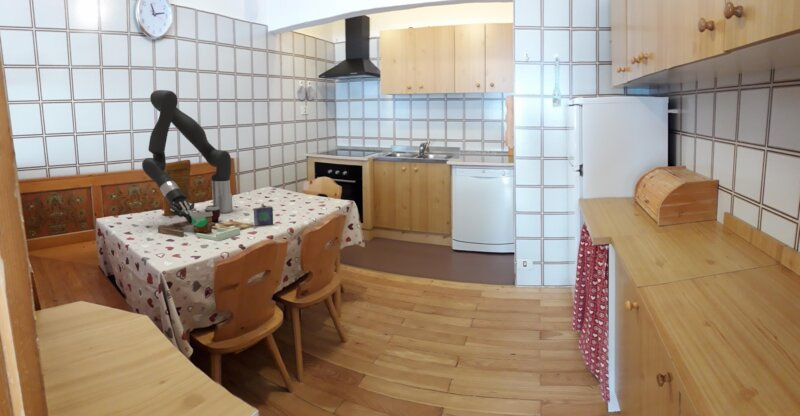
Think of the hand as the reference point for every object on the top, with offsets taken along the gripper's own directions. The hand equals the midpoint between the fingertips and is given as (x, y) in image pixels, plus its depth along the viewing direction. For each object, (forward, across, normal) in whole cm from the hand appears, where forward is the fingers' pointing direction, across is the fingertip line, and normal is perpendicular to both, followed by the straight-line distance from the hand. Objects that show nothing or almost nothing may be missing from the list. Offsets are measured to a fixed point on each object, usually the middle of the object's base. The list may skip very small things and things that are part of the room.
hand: (192, 221), depth 236 cm
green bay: (+14, 0, -8) cm, 16 cm away
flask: (+17, +26, -10) cm, 32 cm away
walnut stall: (0, 0, +6) cm, 6 cm away
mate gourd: (-1, +18, +8) cm, 20 cm away
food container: (+6, 0, 0) cm, 6 cm away
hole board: (+10, +14, -4) cm, 18 cm away
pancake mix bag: (-22, +22, +29) cm, 42 cm away
